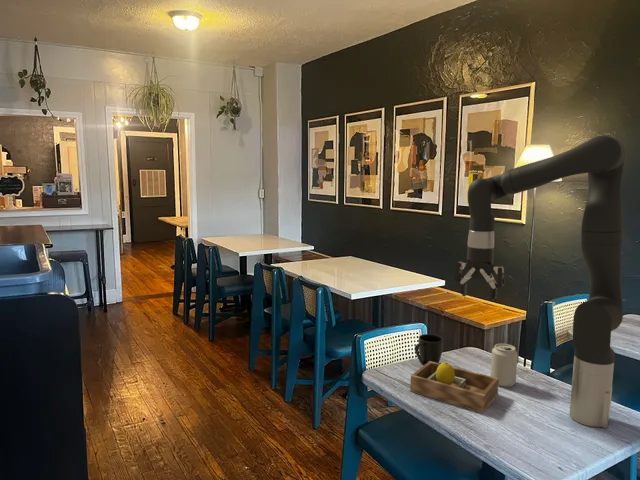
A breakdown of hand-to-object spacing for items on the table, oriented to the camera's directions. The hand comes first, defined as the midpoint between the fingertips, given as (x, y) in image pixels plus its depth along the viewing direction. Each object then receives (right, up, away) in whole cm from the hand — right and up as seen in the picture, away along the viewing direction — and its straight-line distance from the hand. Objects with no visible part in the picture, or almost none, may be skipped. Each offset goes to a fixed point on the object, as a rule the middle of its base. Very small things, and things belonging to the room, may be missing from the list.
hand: (478, 297), depth 145 cm
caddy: (-8, -29, -1) cm, 30 cm away
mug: (-12, -26, +19) cm, 34 cm away
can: (+10, -28, +6) cm, 30 cm away
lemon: (-10, -28, 0) cm, 29 cm away
